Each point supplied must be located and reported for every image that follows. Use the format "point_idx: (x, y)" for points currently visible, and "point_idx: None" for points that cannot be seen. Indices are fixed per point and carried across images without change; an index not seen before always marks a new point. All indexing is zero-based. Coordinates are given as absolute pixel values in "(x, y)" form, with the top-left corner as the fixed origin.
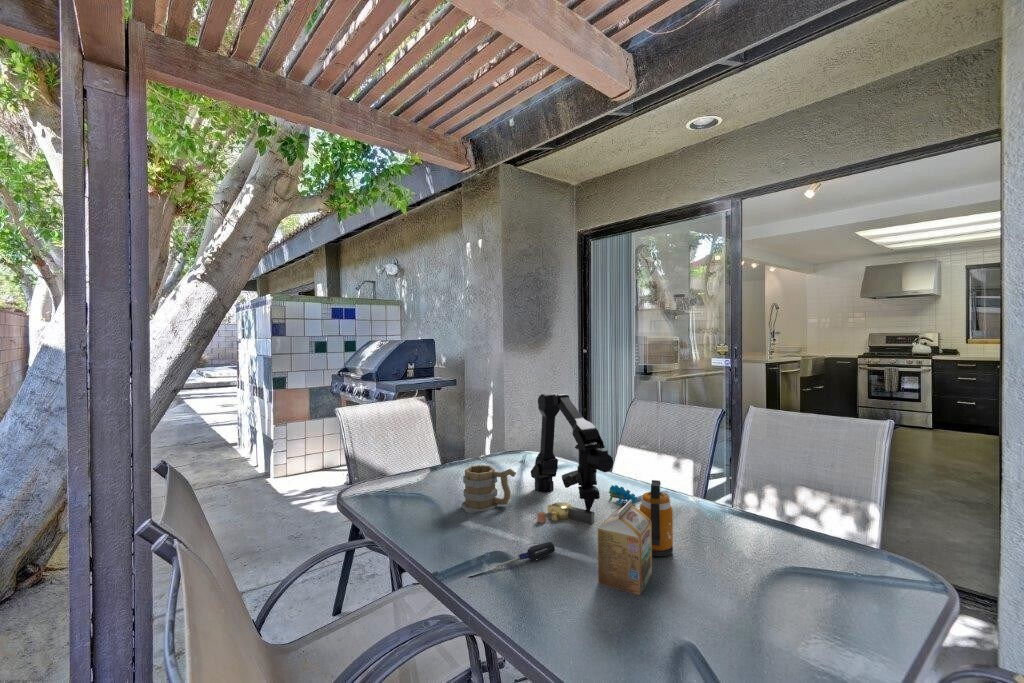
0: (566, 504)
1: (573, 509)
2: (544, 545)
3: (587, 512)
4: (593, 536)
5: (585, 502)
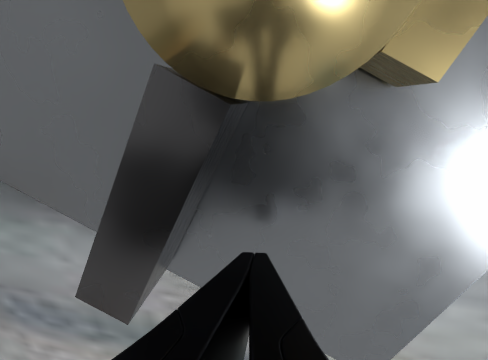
0: (357, 5)
1: (142, 123)
2: None
3: (97, 268)
4: (40, 229)
5: (178, 317)
